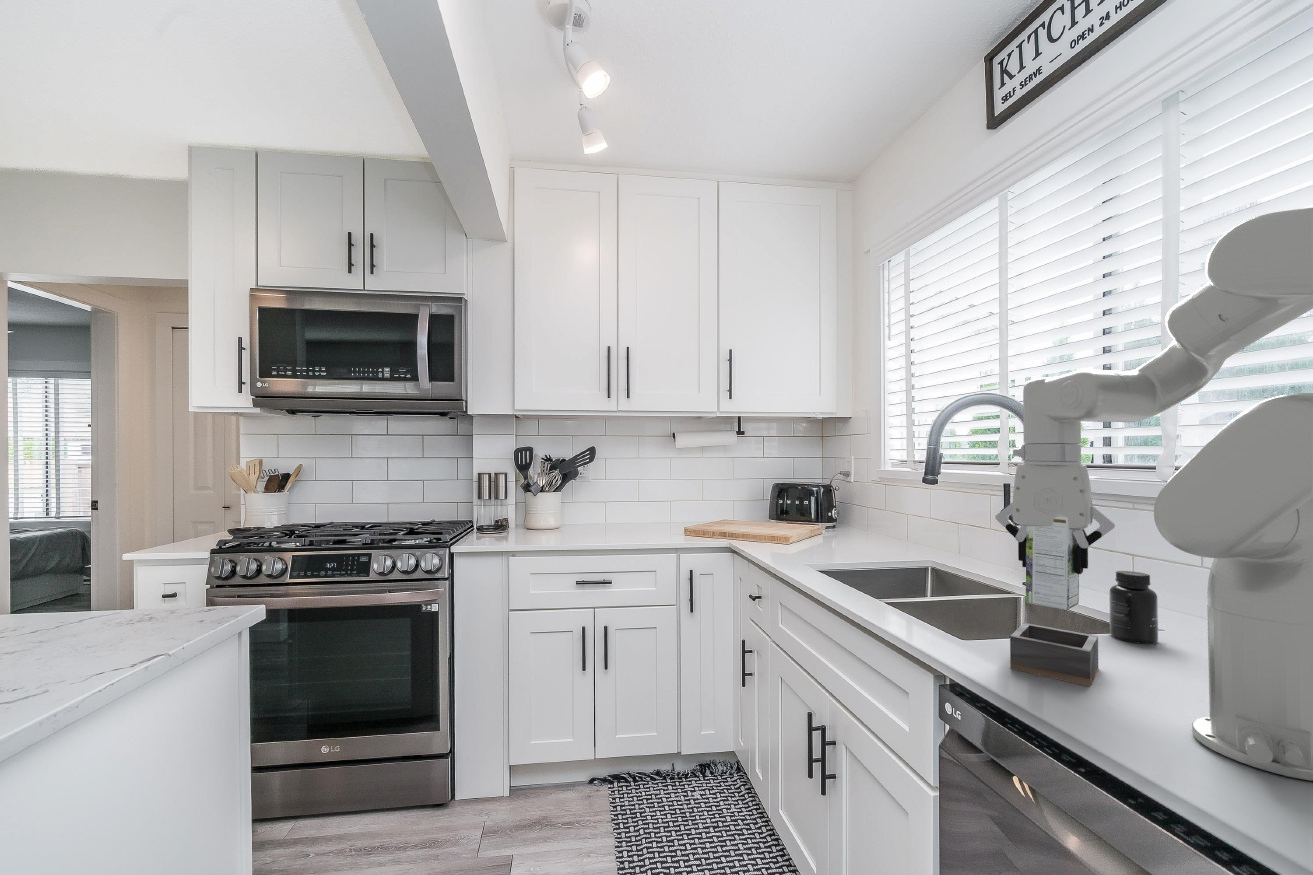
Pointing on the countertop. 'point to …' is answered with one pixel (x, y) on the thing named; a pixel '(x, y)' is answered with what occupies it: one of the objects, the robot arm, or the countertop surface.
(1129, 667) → the countertop surface
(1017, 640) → the socket block
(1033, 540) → the syrup box
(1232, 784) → the countertop surface
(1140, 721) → the countertop surface
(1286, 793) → the countertop surface
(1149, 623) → the supplement bottle
